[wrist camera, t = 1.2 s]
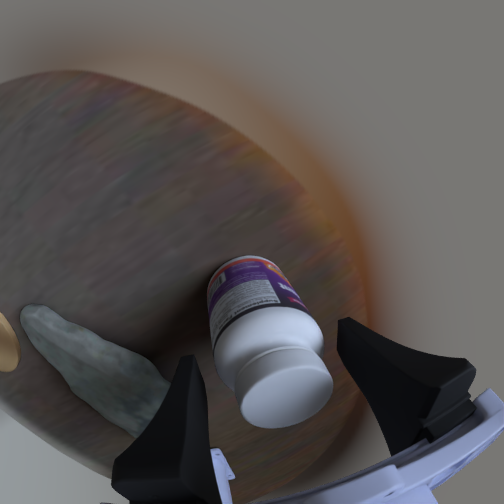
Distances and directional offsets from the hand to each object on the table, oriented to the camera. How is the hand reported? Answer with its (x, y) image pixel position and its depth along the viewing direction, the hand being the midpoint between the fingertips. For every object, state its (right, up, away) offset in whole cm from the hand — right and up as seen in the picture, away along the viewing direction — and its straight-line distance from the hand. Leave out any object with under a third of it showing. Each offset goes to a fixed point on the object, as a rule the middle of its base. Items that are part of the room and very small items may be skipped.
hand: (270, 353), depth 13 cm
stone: (-12, -4, +7) cm, 15 cm away
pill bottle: (-1, +2, +6) cm, 7 cm away
